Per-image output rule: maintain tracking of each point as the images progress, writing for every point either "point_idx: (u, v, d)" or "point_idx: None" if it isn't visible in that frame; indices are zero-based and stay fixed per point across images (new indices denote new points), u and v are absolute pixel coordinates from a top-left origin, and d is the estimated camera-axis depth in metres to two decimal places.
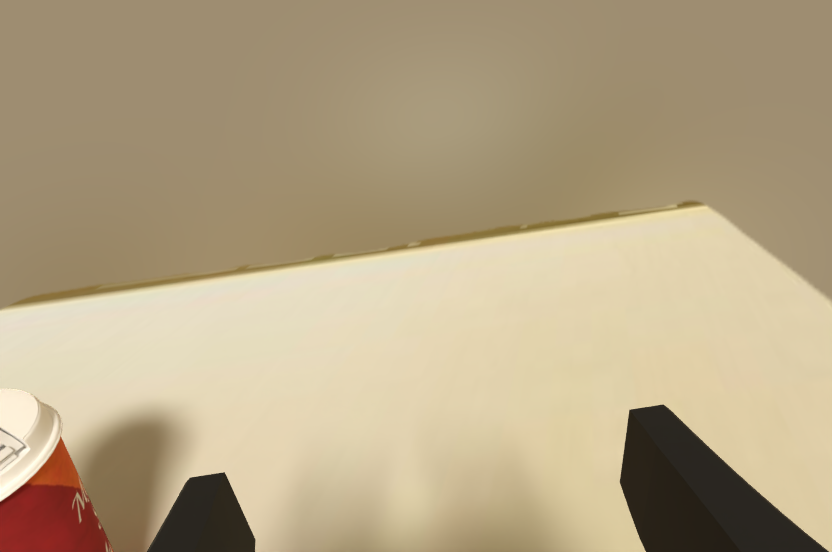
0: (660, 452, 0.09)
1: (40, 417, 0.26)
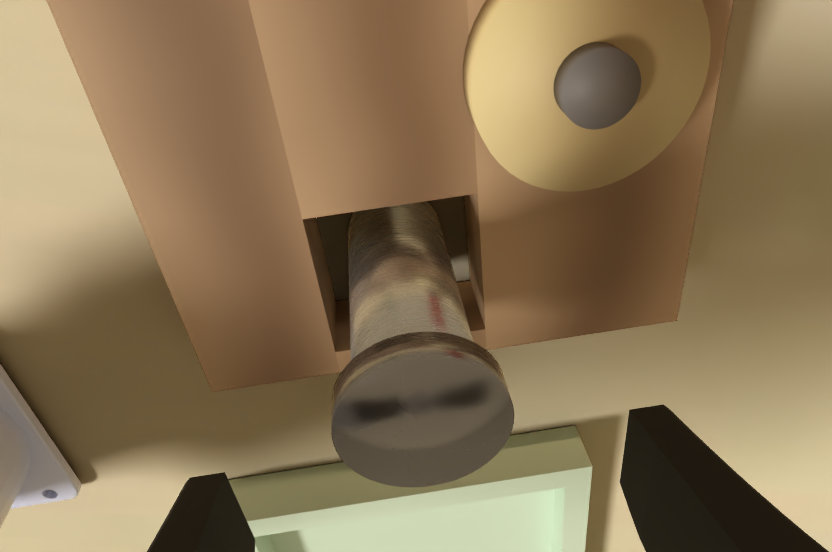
0: (660, 452, 0.09)
1: None
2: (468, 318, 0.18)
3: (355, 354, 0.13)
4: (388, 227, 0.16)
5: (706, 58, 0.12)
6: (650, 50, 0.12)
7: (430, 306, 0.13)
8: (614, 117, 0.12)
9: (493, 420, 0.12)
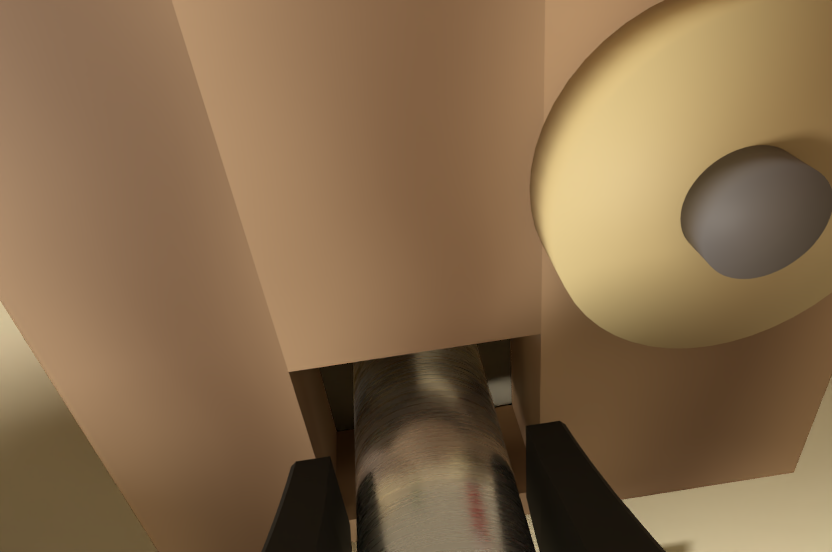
0: (544, 470, 0.09)
1: None
2: (515, 469, 0.13)
3: None
4: (410, 371, 0.11)
5: None
6: None
7: (481, 545, 0.08)
8: (780, 262, 0.08)
9: None
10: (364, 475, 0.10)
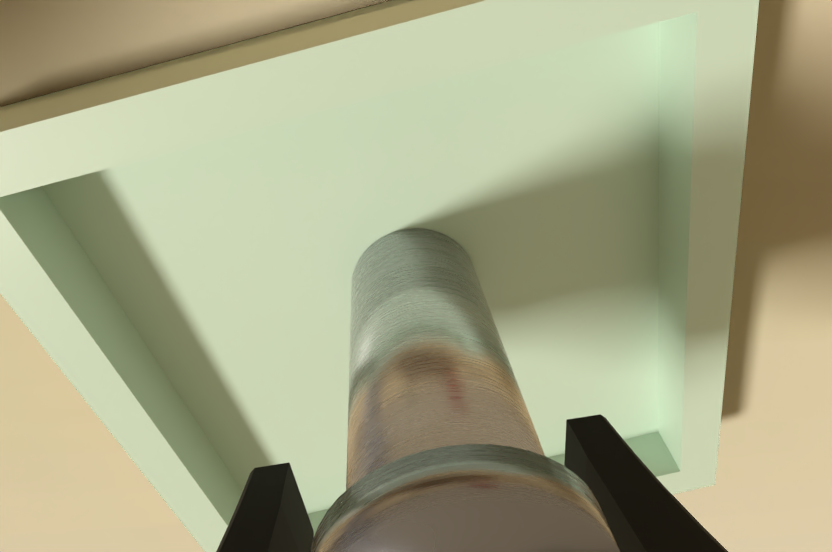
0: (589, 463, 0.09)
1: None
2: None
3: (353, 474, 0.08)
4: (407, 274, 0.11)
5: None
6: None
7: (475, 395, 0.08)
8: None
9: None
10: (357, 363, 0.10)
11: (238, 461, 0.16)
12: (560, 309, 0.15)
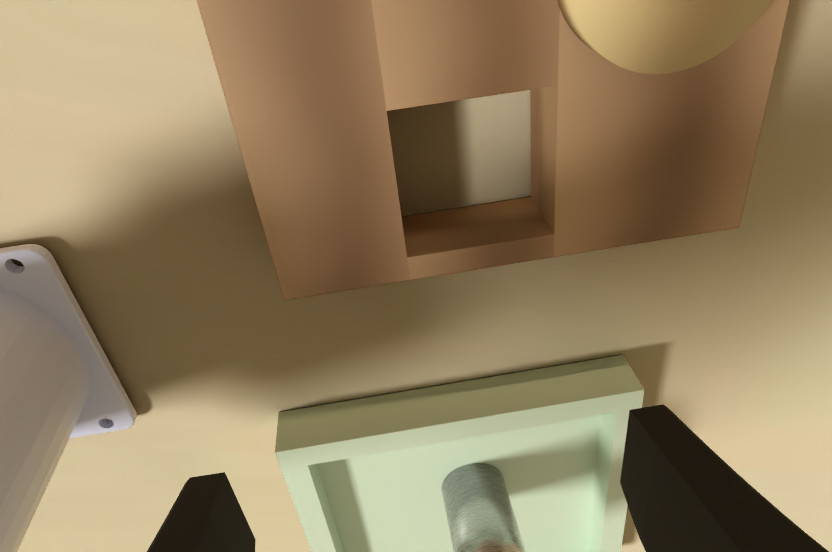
0: (660, 452, 0.09)
1: None
2: (536, 226, 0.18)
3: None
4: (482, 505, 0.24)
5: None
6: None
7: None
8: None
9: None
10: None
11: None
12: (543, 496, 0.28)
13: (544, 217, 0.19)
